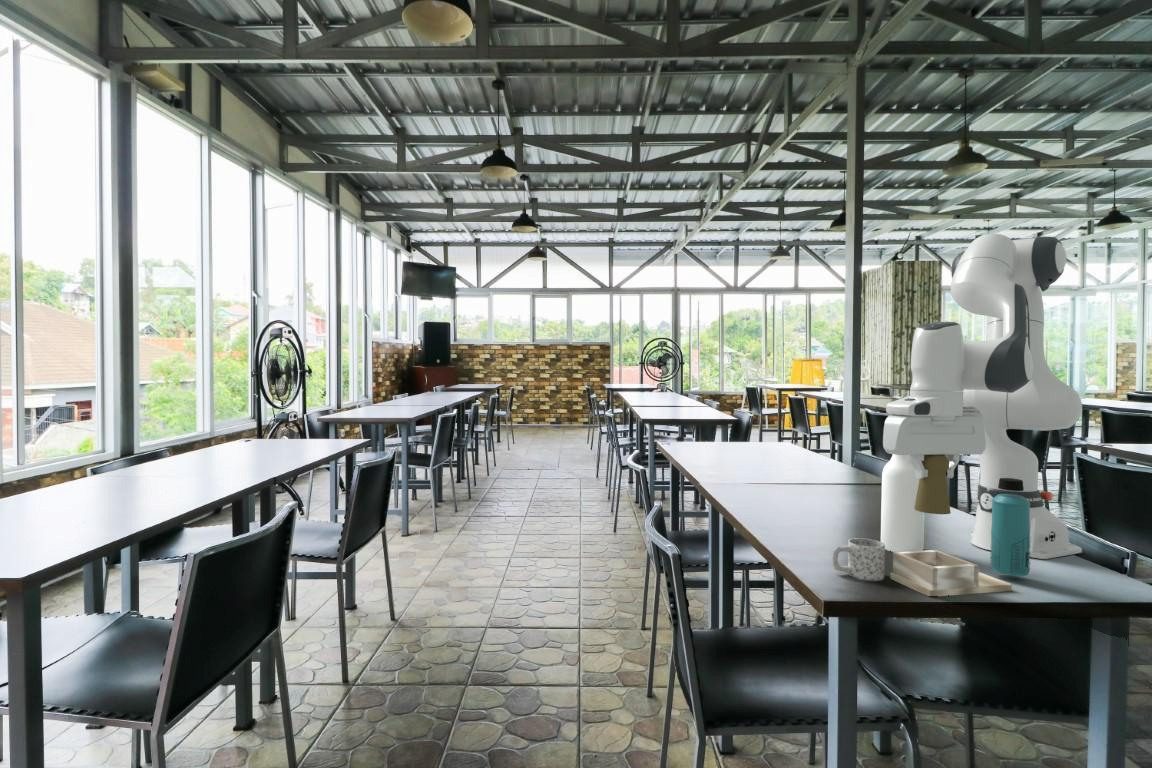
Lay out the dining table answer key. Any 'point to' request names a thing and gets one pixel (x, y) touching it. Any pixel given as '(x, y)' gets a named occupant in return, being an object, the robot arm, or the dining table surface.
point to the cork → (933, 486)
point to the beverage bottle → (1010, 530)
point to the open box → (942, 574)
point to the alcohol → (901, 507)
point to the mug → (862, 559)
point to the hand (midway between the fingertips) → (934, 478)
